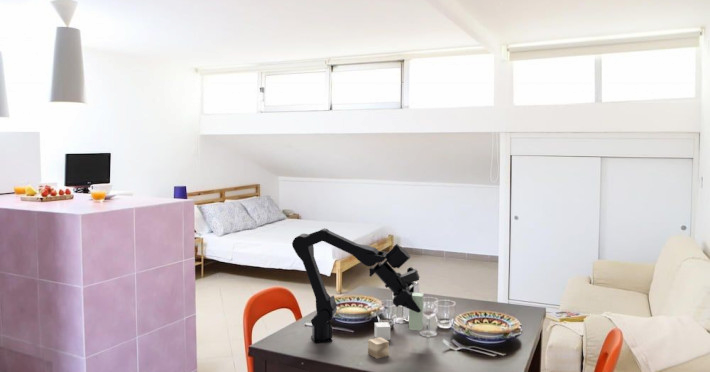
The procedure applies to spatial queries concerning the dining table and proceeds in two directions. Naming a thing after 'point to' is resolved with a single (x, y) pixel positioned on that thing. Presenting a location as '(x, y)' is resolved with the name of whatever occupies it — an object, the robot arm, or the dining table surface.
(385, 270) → the robot arm
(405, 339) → the dining table surface
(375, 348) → the oak cube
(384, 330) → the white cube
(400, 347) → the dining table surface
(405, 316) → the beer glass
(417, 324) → the sage block
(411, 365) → the dining table surface
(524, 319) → the dining table surface
